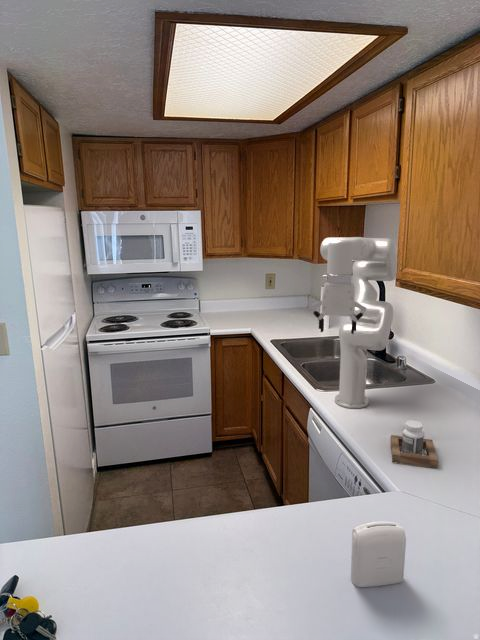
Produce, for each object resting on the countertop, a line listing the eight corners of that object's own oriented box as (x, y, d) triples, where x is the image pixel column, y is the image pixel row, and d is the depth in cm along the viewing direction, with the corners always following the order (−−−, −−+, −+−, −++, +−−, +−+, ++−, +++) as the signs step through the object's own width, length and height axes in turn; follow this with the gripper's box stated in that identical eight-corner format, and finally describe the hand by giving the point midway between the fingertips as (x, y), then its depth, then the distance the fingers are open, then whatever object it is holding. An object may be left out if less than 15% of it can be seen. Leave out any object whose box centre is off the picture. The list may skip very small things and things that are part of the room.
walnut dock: (390, 442, 135) (390, 434, 134) (431, 447, 132) (432, 439, 131) (392, 462, 124) (392, 454, 123) (437, 468, 120) (438, 460, 120)
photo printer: (354, 590, 82) (357, 534, 79) (347, 572, 86) (349, 519, 83) (406, 585, 83) (411, 530, 80) (396, 567, 87) (400, 514, 84)
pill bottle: (418, 449, 130) (421, 419, 128) (424, 459, 125) (427, 428, 123) (399, 448, 131) (401, 419, 129) (404, 459, 125) (407, 428, 123)
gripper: (309, 280, 133) (308, 333, 137) (367, 281, 128) (364, 336, 132) (312, 277, 140) (311, 327, 144) (368, 278, 135) (365, 330, 139)
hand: (337, 332), depth 138 cm, fingers open, 9 cm apart
